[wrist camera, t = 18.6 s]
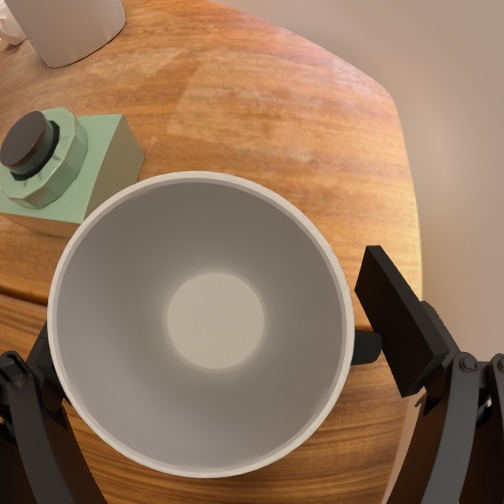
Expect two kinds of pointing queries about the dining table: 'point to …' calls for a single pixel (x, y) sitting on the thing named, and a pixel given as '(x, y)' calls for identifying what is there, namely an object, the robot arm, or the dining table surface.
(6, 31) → the mug
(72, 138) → the push button box
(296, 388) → the mug
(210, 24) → the dining table surface
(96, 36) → the utensil holder
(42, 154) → the cap
